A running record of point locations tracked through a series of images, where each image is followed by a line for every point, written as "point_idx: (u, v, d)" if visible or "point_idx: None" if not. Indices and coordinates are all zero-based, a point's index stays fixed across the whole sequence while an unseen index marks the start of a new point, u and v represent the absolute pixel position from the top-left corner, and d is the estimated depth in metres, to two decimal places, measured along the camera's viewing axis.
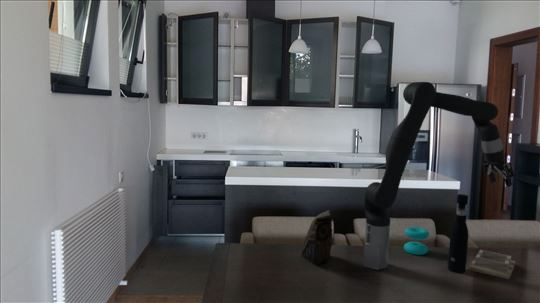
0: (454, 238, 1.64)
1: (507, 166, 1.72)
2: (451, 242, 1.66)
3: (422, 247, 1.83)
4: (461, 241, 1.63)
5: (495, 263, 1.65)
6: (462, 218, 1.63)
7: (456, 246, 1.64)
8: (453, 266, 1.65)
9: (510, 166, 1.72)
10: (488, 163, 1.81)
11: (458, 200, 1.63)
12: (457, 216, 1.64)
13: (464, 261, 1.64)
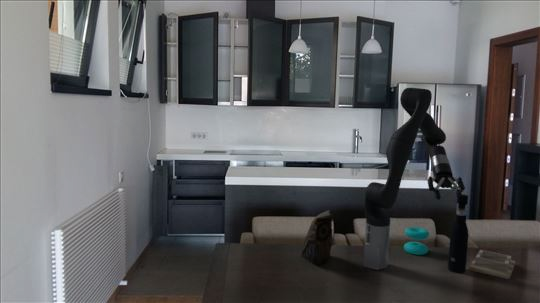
0: (454, 238, 1.64)
1: None
2: (451, 242, 1.66)
3: (422, 247, 1.83)
4: (461, 241, 1.63)
5: (495, 263, 1.65)
6: (462, 218, 1.63)
7: (456, 246, 1.64)
8: (453, 266, 1.65)
9: None
10: (437, 178, 1.81)
11: (458, 200, 1.63)
12: (457, 216, 1.64)
13: (464, 261, 1.64)
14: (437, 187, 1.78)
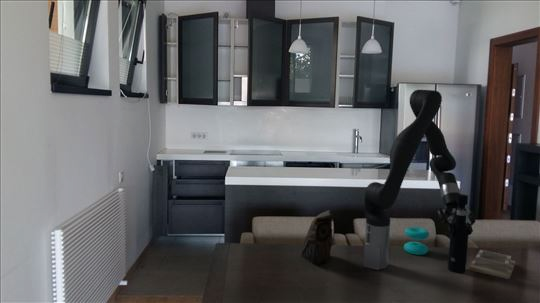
0: (454, 238, 1.64)
1: None
2: (451, 242, 1.66)
3: (422, 247, 1.83)
4: (461, 241, 1.63)
5: (495, 263, 1.65)
6: (462, 218, 1.63)
7: (456, 246, 1.64)
8: (453, 266, 1.65)
9: None
10: (448, 209, 1.69)
11: (458, 200, 1.63)
12: (457, 216, 1.64)
13: (464, 261, 1.64)
14: (450, 220, 1.66)
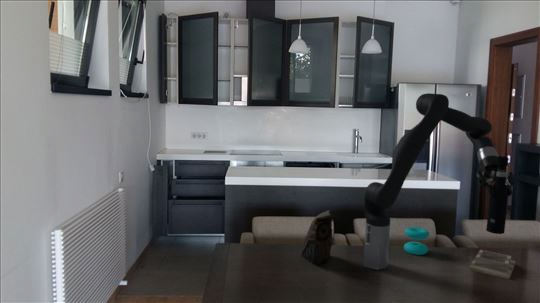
0: (494, 199, 1.66)
1: None
2: (491, 204, 1.67)
3: (422, 247, 1.83)
4: (501, 202, 1.65)
5: (495, 263, 1.65)
6: (502, 179, 1.65)
7: (496, 207, 1.65)
8: (492, 227, 1.67)
9: None
10: (487, 172, 1.71)
11: (498, 161, 1.65)
12: (497, 177, 1.66)
13: (504, 222, 1.66)
14: (490, 182, 1.68)
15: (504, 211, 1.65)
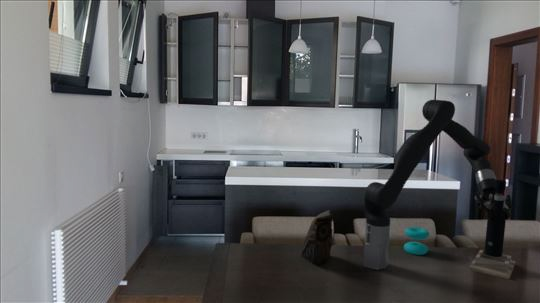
0: (492, 222, 1.67)
1: None
2: (489, 227, 1.68)
3: (422, 247, 1.83)
4: (499, 225, 1.66)
5: (495, 263, 1.65)
6: (500, 203, 1.66)
7: (494, 230, 1.67)
8: (490, 250, 1.68)
9: None
10: (485, 194, 1.72)
11: (496, 185, 1.66)
12: (495, 201, 1.67)
13: (501, 245, 1.67)
14: (488, 205, 1.69)
15: (502, 234, 1.66)
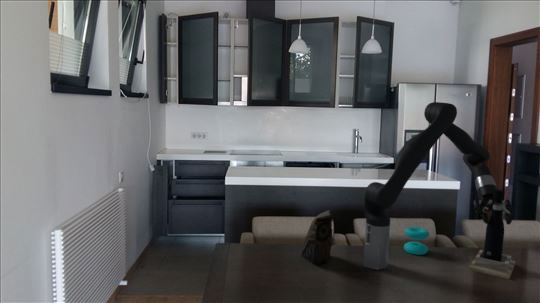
0: (490, 232, 1.67)
1: None
2: (487, 237, 1.69)
3: (422, 247, 1.83)
4: (498, 235, 1.66)
5: (495, 263, 1.65)
6: (498, 213, 1.67)
7: (493, 240, 1.67)
8: None
9: None
10: (484, 200, 1.72)
11: (495, 195, 1.67)
12: (493, 211, 1.68)
13: (500, 255, 1.68)
14: (485, 210, 1.69)
15: (500, 244, 1.67)
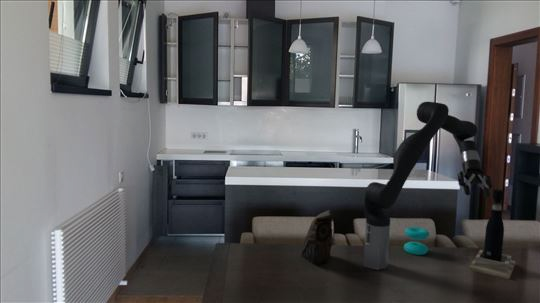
0: (490, 232, 1.67)
1: None
2: (487, 237, 1.69)
3: (422, 247, 1.83)
4: (497, 235, 1.66)
5: (495, 263, 1.65)
6: (498, 213, 1.67)
7: (492, 240, 1.67)
8: None
9: None
10: (468, 174, 1.84)
11: (494, 195, 1.67)
12: (493, 211, 1.68)
13: (500, 255, 1.68)
14: (467, 183, 1.81)
15: (500, 244, 1.67)
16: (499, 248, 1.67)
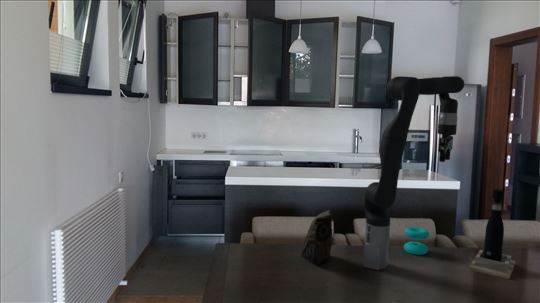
0: (490, 232, 1.68)
1: None
2: (487, 237, 1.69)
3: (422, 247, 1.83)
4: (497, 235, 1.66)
5: (495, 263, 1.65)
6: (498, 213, 1.67)
7: (492, 240, 1.67)
8: None
9: None
10: (447, 139, 1.80)
11: (494, 195, 1.67)
12: (493, 211, 1.68)
13: (500, 255, 1.68)
14: (445, 150, 1.80)
15: (500, 244, 1.67)
16: (499, 248, 1.67)
